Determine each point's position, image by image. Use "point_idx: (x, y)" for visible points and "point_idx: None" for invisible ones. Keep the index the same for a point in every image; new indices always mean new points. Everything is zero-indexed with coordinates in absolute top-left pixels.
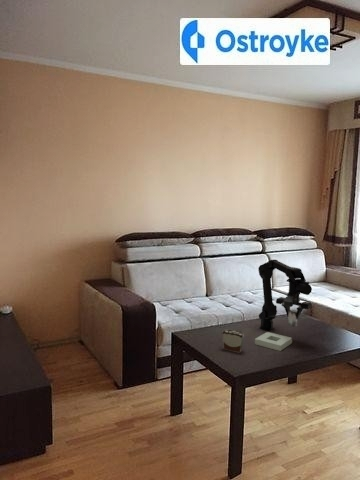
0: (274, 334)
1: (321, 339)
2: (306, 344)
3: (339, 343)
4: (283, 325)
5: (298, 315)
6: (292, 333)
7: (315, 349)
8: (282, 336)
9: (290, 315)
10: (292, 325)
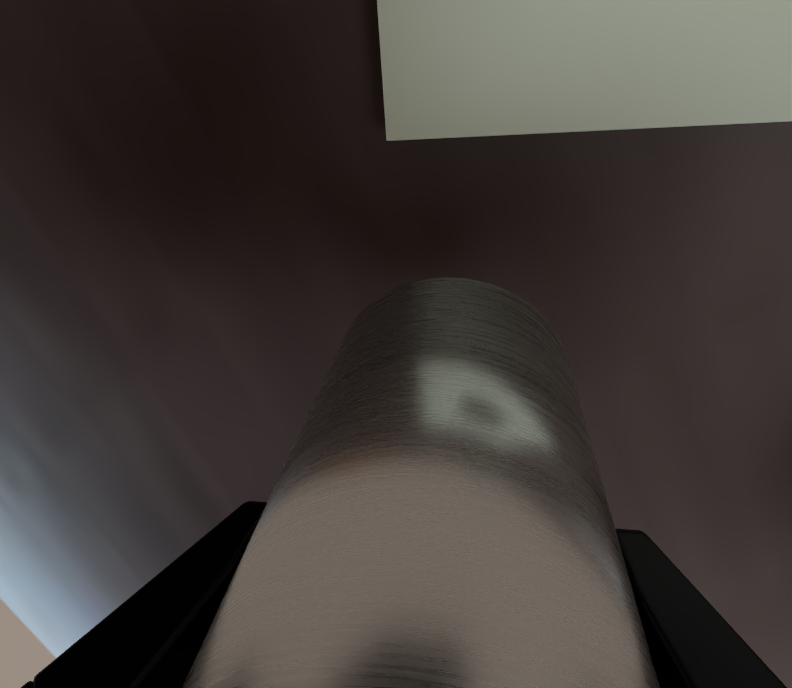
0: (789, 62)
1: (209, 497)
2: (221, 235)
3: (33, 493)
4: None
5: (117, 623)
6: None
7: (28, 131)
8: (580, 74)
9: (452, 504)
10: (392, 297)
